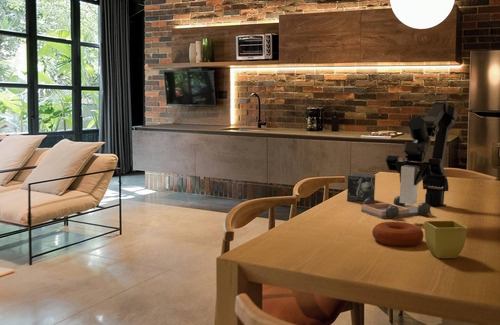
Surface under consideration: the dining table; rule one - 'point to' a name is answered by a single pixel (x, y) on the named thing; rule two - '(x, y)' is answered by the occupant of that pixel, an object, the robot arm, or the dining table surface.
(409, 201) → the block
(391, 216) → the chassis
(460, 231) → the flower pot
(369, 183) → the box
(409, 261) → the dining table surface
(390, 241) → the donut
